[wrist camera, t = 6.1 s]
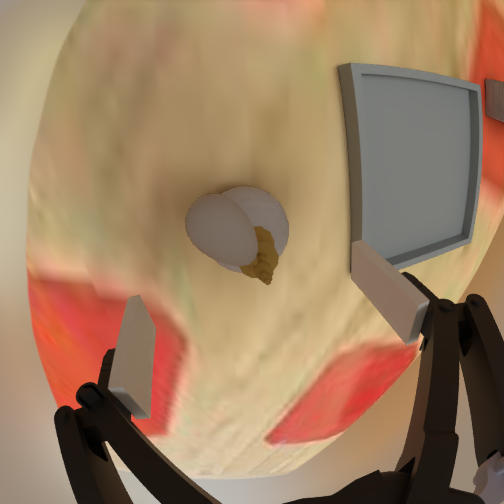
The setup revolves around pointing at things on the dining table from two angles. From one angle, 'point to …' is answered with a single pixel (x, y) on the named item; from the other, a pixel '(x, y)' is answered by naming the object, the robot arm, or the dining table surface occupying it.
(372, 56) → the dining table surface
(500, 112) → the skincare box
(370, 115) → the tray
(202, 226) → the perfume bottle
